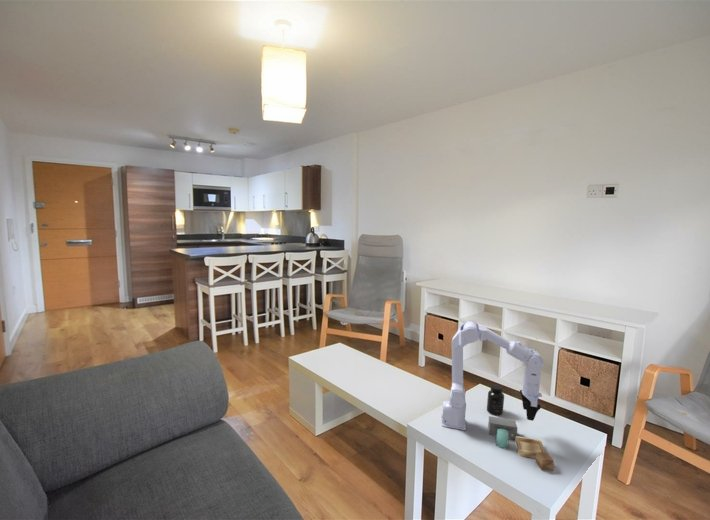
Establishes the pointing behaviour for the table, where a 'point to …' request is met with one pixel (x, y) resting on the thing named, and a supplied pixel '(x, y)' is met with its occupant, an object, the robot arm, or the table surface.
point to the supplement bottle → (495, 400)
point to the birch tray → (528, 446)
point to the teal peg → (502, 438)
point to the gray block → (502, 426)
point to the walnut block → (544, 461)
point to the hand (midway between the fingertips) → (528, 414)
